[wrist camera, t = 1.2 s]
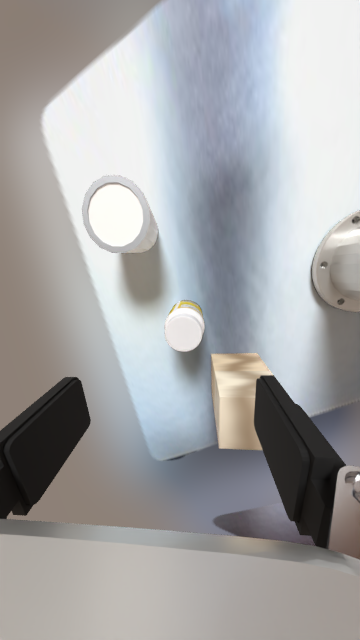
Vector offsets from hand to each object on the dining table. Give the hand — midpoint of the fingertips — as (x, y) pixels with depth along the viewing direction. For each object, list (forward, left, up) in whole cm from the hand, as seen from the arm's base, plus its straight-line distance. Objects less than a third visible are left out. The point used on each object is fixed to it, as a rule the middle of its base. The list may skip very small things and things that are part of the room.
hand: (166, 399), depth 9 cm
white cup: (+6, -12, -18) cm, 23 cm away
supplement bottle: (0, 0, -18) cm, 18 cm away
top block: (-7, +10, -13) cm, 18 cm away
